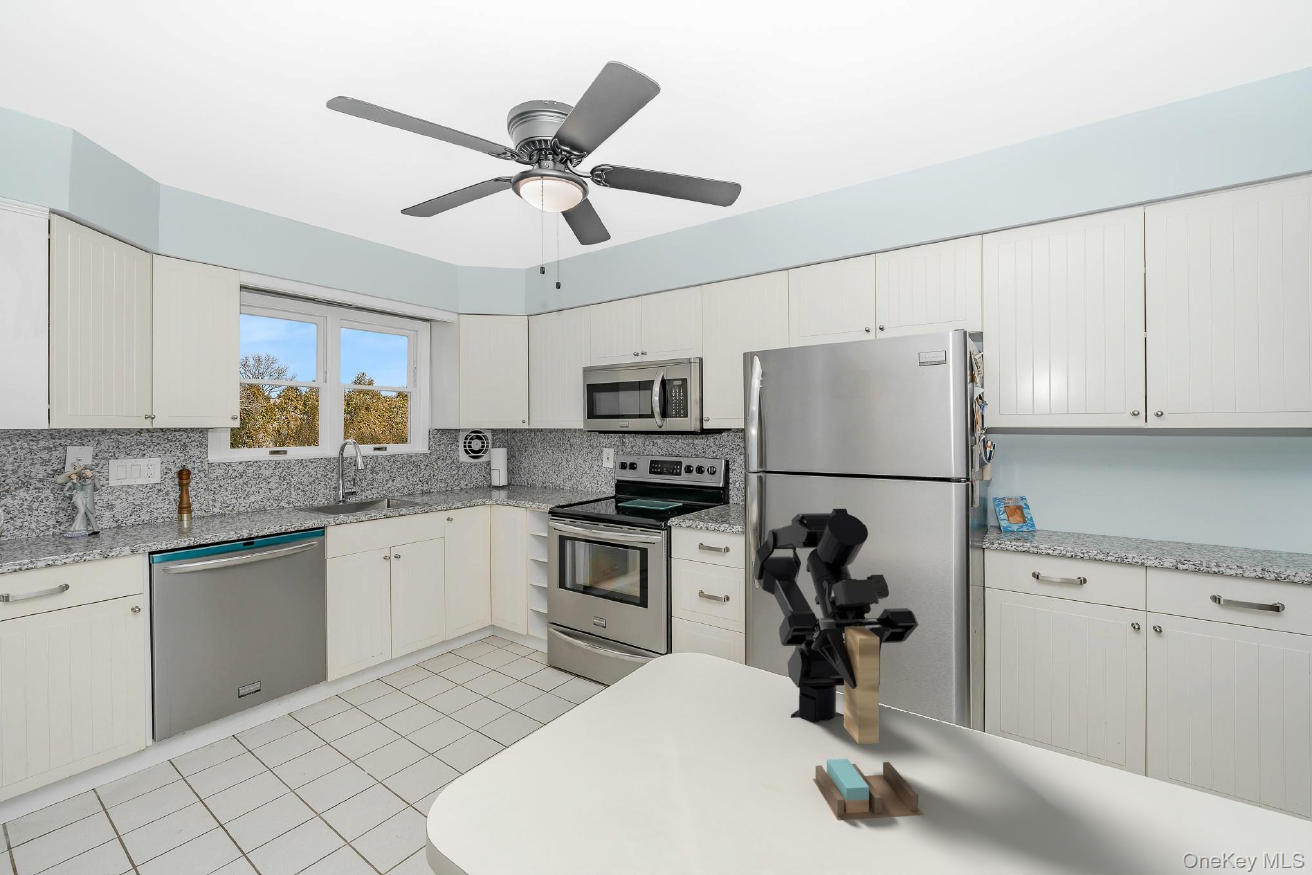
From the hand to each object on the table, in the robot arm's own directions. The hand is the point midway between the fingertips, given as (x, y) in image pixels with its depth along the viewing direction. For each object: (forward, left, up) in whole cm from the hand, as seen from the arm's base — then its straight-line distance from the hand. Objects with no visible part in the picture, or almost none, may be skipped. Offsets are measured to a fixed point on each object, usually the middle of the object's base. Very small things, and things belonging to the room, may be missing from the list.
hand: (865, 687), depth 76 cm
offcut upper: (+6, +1, -10) cm, 12 cm away
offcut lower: (+6, +1, -11) cm, 13 cm away
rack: (+5, +2, -12) cm, 14 cm away
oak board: (-1, -1, -7) cm, 7 cm away
